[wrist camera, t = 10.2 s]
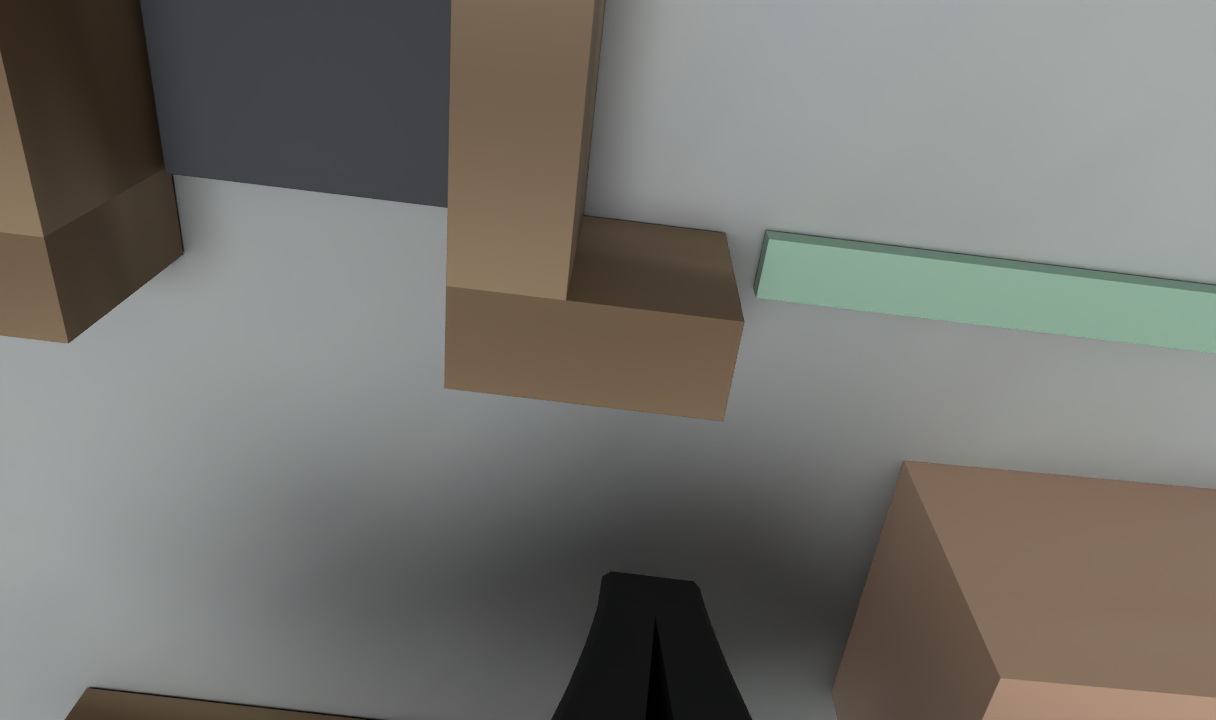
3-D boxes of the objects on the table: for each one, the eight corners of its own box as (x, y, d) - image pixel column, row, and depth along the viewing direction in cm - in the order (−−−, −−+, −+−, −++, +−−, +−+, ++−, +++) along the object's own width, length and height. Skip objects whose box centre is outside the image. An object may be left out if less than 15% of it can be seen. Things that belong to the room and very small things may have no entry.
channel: (619, 788, 16) (614, 928, 14) (99, 730, 16) (12, 862, 14) (798, -155, 9) (849, -170, 6) (-191, -284, 8) (-487, -343, 6)
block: (1112, 711, 15) (1255, 965, 11) (830, 686, 15) (886, 932, 11) (1240, 485, 12) (1473, 720, 9) (901, 455, 12) (1000, 678, 9)
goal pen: (1261, 870, 16) (1353, 1019, 14) (642, 800, 16) (641, 941, 14) (1727, 333, 11) (2004, 446, 8) (769, 215, 10) (800, 301, 8)
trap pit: (480, 203, 11) (476, 211, 10) (177, 166, 10) (165, 172, 10) (491, -63, 9) (486, -61, 9) (139, -107, 9) (124, -106, 9)
